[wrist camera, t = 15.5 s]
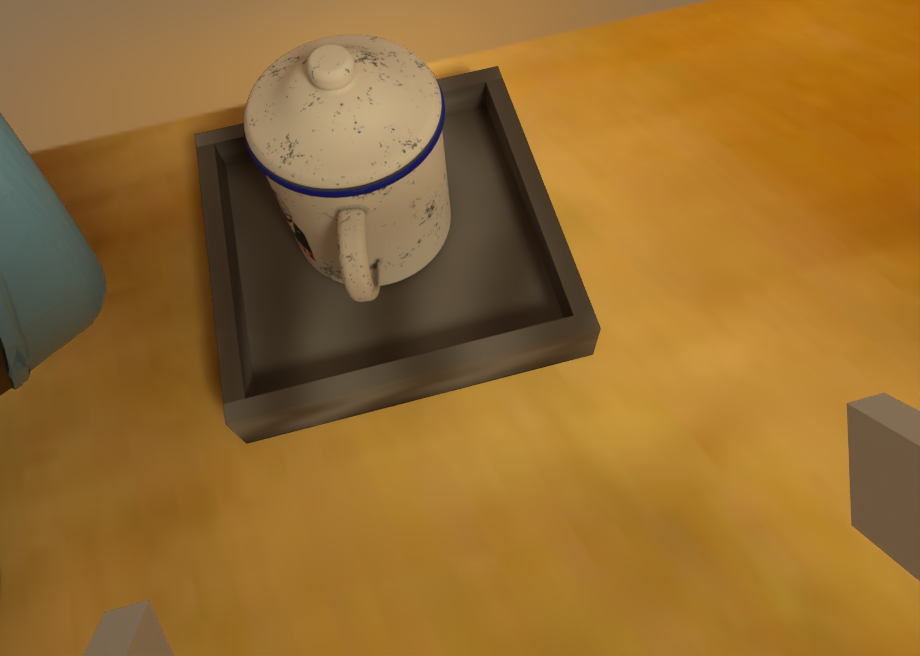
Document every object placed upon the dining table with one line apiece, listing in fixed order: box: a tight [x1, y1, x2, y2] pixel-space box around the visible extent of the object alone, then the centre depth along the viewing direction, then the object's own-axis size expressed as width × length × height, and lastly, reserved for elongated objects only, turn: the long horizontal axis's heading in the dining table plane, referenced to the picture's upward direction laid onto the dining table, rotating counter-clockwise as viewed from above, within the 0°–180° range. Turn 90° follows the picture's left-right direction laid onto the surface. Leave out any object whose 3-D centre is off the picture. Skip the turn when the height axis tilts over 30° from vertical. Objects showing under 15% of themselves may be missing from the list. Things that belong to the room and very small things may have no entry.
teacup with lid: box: [244, 35, 451, 302], centre depth 33 cm, size 12×9×12 cm
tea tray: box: [195, 66, 601, 443], centre depth 38 cm, size 18×18×3 cm
